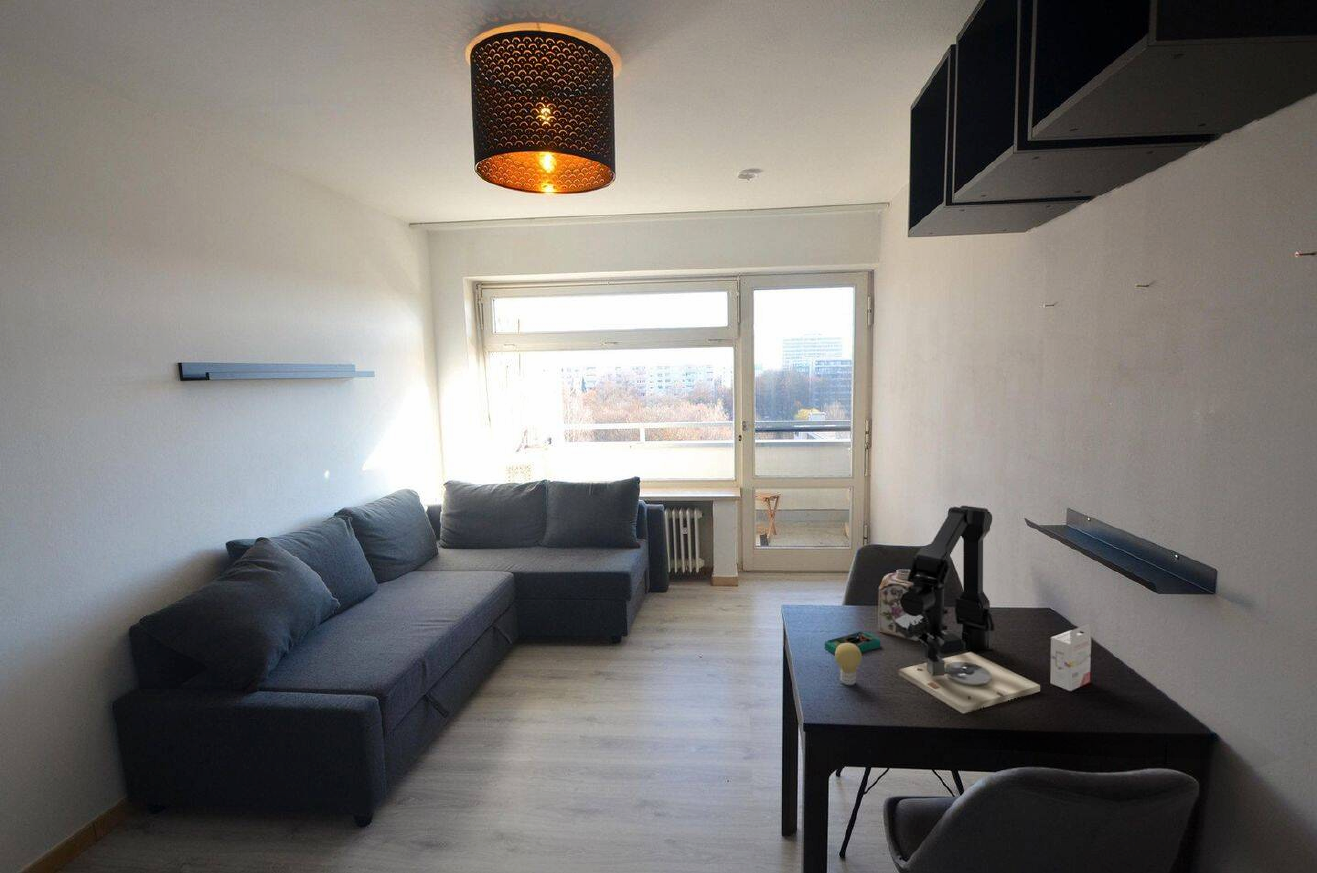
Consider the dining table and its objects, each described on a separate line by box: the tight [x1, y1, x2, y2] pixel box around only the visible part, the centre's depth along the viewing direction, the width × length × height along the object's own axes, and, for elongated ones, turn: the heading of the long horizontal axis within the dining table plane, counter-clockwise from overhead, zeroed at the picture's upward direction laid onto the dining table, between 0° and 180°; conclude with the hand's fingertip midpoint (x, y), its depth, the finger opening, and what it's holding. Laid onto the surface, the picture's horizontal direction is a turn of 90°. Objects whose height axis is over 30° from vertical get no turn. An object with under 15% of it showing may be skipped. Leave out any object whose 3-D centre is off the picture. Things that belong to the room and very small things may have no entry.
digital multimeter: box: [824, 630, 881, 655], centre depth 176 cm, size 7×15×3 cm, turn 117°
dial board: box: [898, 651, 1041, 715], centre depth 155 cm, size 24×20×2 cm
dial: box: [926, 655, 991, 686], centre depth 154 cm, size 14×10×5 cm
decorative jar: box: [877, 568, 920, 642], centre depth 186 cm, size 12×12×18 cm
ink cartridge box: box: [1050, 624, 1092, 692], centre depth 152 cm, size 9×5×15 cm, turn 118°
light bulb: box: [834, 643, 863, 686], centre depth 156 cm, size 6×6×10 cm
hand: (929, 663), depth 157 cm, fingers closed
